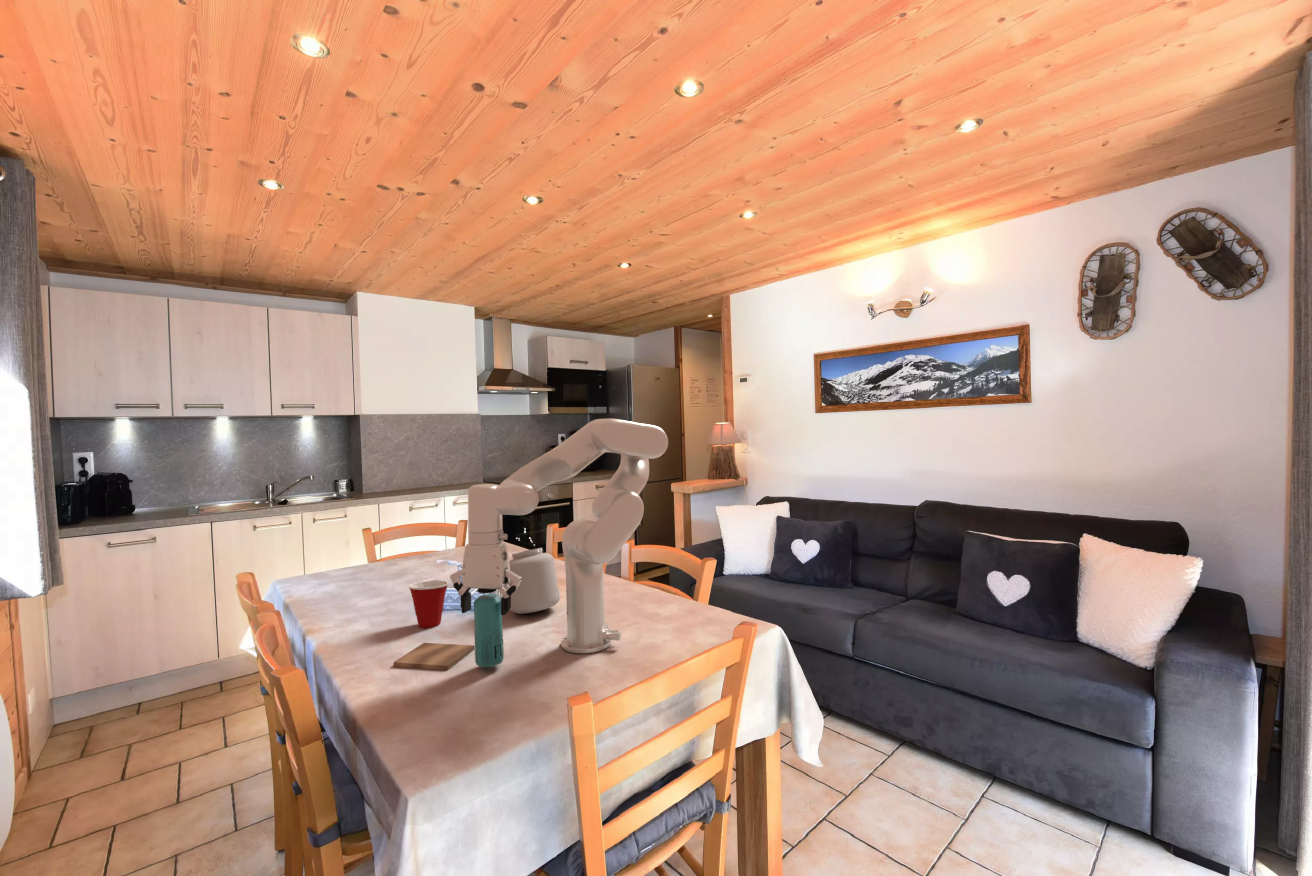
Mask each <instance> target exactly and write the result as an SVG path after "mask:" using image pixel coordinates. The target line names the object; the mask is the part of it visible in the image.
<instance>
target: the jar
mask: <svg viewBox="0 0 1312 876" xmlns="http://www.w3.org/2000/svg"><path fill="white" fill-rule="evenodd" d="M523 532H524V534H526V533H527V532H526V528H525V527H524V531H523ZM515 539H516V540H517V539H518V541H521V540H520V537H519V538H518V537H516V538H515ZM528 539H530V542H531V543H533V541H532V539H531V537H529V538H528ZM535 545H536V544H533V546H535ZM535 547H536V546H535ZM511 556H512V559H509V564H510V571H512V572H513V573H515V574H517V575H518V576H520V577H521V578H522V580H521V582H520V584H519V586H518V589H517V590H516V591H515V592H514V593H513V594H512V595H511V609H510V611H512V613H515V614H518V615H520V614H521V615H522V614H523V615H524V614H531V613H535V612H536V613H537V612H539V611H544V610H546V609H550V608H552V607H554V606H556V605H557V604H558V603H559V601H560V600H561V594H560V588H559V583H558V576H557V571H556V565H555V564H556V563H555V559H554V556H553V555H552V554H550V553H548V552H543V547H538V548H532V549H528V550H523V551H519V552H514V553H512V554H511ZM512 584H513V581H512V580H511V579H510V583H509V584H508V585H509V587H511V586H512Z"/></svg>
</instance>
